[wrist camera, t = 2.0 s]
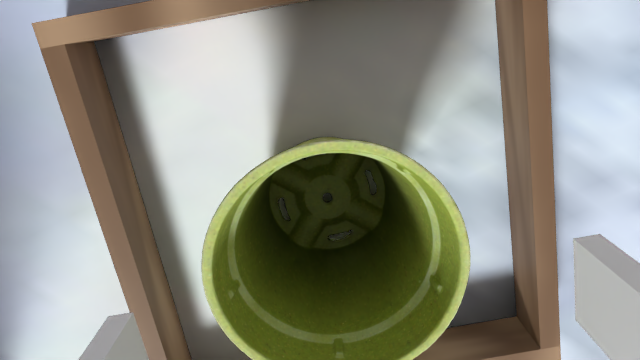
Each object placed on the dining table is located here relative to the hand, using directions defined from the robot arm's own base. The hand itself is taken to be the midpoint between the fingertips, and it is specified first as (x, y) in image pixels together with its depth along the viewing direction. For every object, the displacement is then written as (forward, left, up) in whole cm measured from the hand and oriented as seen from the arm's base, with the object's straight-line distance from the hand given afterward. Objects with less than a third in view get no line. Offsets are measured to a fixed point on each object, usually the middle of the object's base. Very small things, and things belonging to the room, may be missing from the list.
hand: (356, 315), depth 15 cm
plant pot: (0, 0, -12) cm, 12 cm away
